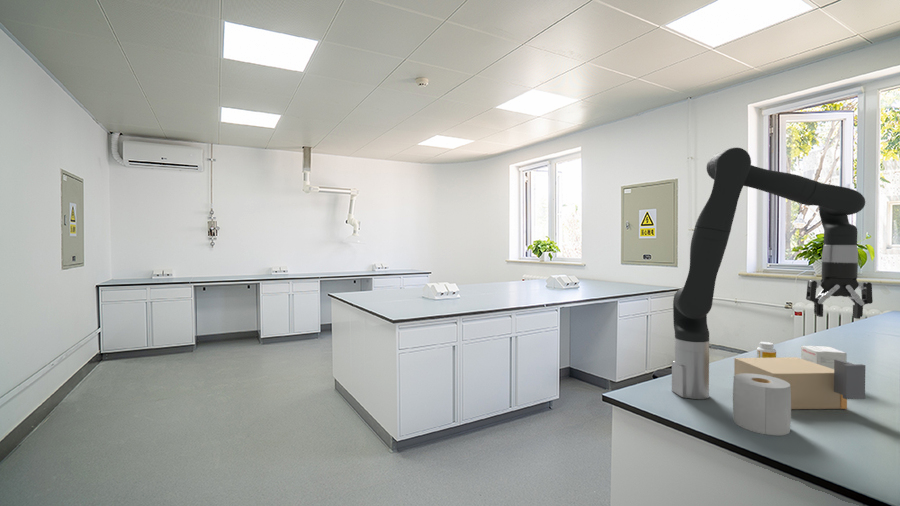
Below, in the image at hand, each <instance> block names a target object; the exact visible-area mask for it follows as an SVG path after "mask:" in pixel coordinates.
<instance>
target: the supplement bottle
mask: <svg viewBox="0 0 900 506" xmlns="http://www.w3.org/2000/svg"><path fill="white" fill-rule="evenodd" d="M756 358H777V350H776V349H775V348H774V343H773V342H768V341H760V342H759V346H758V347H757V348H756Z"/></svg>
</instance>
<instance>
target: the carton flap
mask: <svg viewBox="0 0 900 506" xmlns="http://www.w3.org/2000/svg"><path fill="white" fill-rule="evenodd" d="M774 377H775V378H779V379H782V380H784V381H786V382H788V383H789V384H790V388H791V410H830V409H833V410H834V409H835V410H836V409H839V410H840V409H841V410H842V409H843V410H847V409H848V400H865V399H866V364H863V363H856V364H855V363H852V362H848V361H847V362H845V361H842V360H834V372H829V373H774Z"/></svg>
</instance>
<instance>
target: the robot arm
mask: <svg viewBox="0 0 900 506" xmlns="http://www.w3.org/2000/svg"><path fill="white" fill-rule="evenodd" d="M706 172H707V175H708V176H709V177H710V178H711V179H712V180H714V181H713V185H712V189H711V193H710V195H709V197H708V199H707V202H706V203H705V204H704V206H703V208H702V209H701V211H700V214H699V216H698V218H697V219H696V222H695V225H694V228H693V233H692V236H691V241H690V249H689V268H688V269H689V270H688V273H687V277H686V281H685V282H684V285H683V287H681V288H679V289H677V290H676V291H675V293H674V295H673V300H672V301H673V304H672V306H673V307H672V310H673V311H672V312H673V313H672V315H673V329H674V330H673V331H674V360H672V361H671V392H674V393H675V394H676V395H677V396H679V397H681V398H685V399H687V398H688V399H693V400H706V399H708V398H709V397H710V330H709V327H708V319H707V318H708V317H707V315H708V314H709V313H710V311H711V309H712V307H713V302H714V301H713V300H714V293H715V287H716V286H715V285H716V281H717V277H718V276H717V275H718V273H719V269H720V267H721V264H722V261H723V259H724V256H725V252H726V248H727V245H728V242H729V237H730V234H731V231H732V226H733V222H734V218H735V214H736V211H737V205H738V202H739V199H740V195H741V193H742V189H743V187H747V188H752V189H755V190H758V191H762V192H765V193H768V194H771V195H774V196H777V197H780V198H783V199H785V200H790V201H792V202H795V203H798V204H801V205H806V206H817V207H818V213H819V218H820V220H821V221H820V222H821V225H822V227H823V247H822V255H821V279H820V281H817V280H811V279H809V280H808V281H807V286H806V297H805V299H806V300H807V301H810V302H812V303H813V304H814V305H813V312H814V315H816V317H819V318H823V317H824V304H823V303H825V301H826V300H828V299H829V298H830V297H843V298H844V297H845V298H848V299H850V300H851V301H852V303H853V304H852V319H856V320H860V319H861V317H863V315H864V314H863V313H864V306H865V305H869V304H873V301H874V300H873V285H872V283H871V282H870V281H869V282H868V281H861V282H860V281H859V282H858V271H859V270H858V267H859V251H858V228H857V227H856V226H855V225H854V224H851V223H850V222H849V216H850V215H855V214H858V213H860V212H861V211H862V210H863V209H864V207H865V206H866V199H865V197H864V196H863V194H862V193H861V192H859V191H857V190H855V189H852V188H849V187H846V186H841V185H835V184H830V183H823V182H820V181H816V180H814V179H811V178H808V177H806V176H802V175H798V174H794V173H790V172H784V171H779V170H778V171H777V170H771V169H767V168H762V167H758V166H755V165H753V164H752V159H751V156H750V154H749V152H748V151H747V150H745V148H744V149H743V147H730V148H727V149H725V150H723V151H720V152H718V153H715V154H714V155H713V156H712V157H710V158H709V160H708V162H706ZM819 287H821V288H822V289H821V291H820V292H818V295H817V289H818V288H819ZM858 288H859V289H860V290H861V298H860V295H859V294H858V293H857V292H856V290H857V289H858Z"/></svg>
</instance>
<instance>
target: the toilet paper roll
mask: <svg viewBox="0 0 900 506" xmlns="http://www.w3.org/2000/svg"><path fill="white" fill-rule="evenodd" d="M732 383H733V385H732V415H733V422H734V423H735V424H736V425H737V426H739V427H740V428H741V429H744V430H747V431H749V432H754V433H757V434H760V435H766V436H767V435H768V436H777V437H778V436H779V437H780V436H786V435H788V434H789V433H790V432H791V422H792V409H791V388H790V384H789V383H788V382H786V381H784V380H782V379H779V378H775V377H771V376H766V375H760V374H748V373H744V374H736V375H734V374H733V382H732Z"/></svg>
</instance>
